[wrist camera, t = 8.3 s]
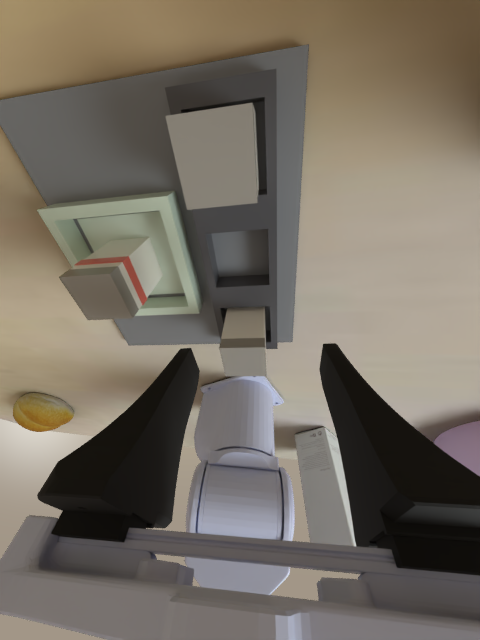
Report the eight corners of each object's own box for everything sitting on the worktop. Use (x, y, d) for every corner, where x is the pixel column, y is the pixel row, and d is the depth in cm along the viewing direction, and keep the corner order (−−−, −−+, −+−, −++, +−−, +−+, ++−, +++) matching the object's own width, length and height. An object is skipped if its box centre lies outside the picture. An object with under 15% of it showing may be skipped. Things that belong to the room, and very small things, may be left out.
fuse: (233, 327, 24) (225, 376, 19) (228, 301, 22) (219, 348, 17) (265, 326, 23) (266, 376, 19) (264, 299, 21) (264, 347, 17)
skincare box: (293, 433, 40) (306, 555, 28) (326, 424, 37) (355, 556, 25) (316, 450, 43) (336, 565, 32) (348, 444, 41) (381, 566, 29)
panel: (131, 340, 28) (121, 357, 26) (-2, 103, 14) (-44, 98, 12) (291, 336, 25) (294, 354, 23) (306, 49, 12) (315, 32, 10)
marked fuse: (127, 277, 21) (87, 320, 16) (110, 239, 19) (57, 276, 14) (163, 275, 20) (133, 318, 16) (150, 236, 18) (110, 273, 13)
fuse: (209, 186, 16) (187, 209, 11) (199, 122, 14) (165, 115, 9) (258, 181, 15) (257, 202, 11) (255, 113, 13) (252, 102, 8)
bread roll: (84, 408, 40) (69, 431, 37) (59, 419, 44) (44, 441, 41) (36, 384, 36) (15, 407, 33) (14, 399, 40) (-7, 421, 37)
